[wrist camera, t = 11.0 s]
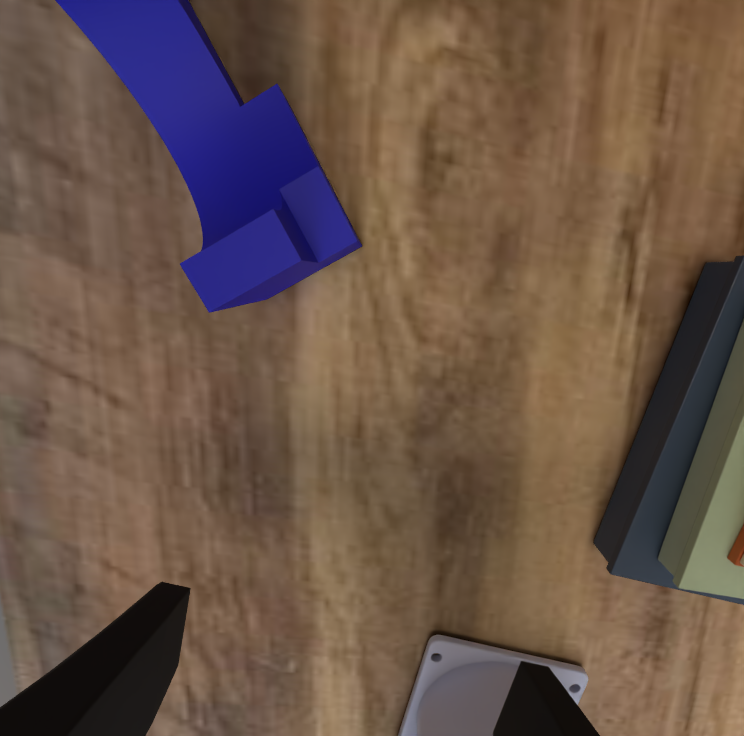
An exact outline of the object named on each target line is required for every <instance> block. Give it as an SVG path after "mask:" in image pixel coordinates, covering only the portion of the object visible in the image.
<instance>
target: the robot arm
mask: <svg viewBox="0 0 744 736" xmlns="http://www.w3.org/2000/svg"><path fill="white" fill-rule="evenodd" d="M190 589H191V588H188V587H183V586H179V585H174V584H169V583H165V582H161V583H159V584H157V585H156V586H155V587H154V588H152V589H151V590H150V591H149V592H148V593H147V594H145V595H144V596H143V597H142V598H141V599H140V600H138V601H137V602H136V603H135V604H134V605H132V606H131V607H130V608H129V609H128V610H127V611H125V612H124V613H123V614H122V615H121V616H119V617H118V618H117V619H116V620H114V621H113V622H112V623H111V624H110V625H108V626H107V627H106V628H105V629H103V630H102V631H101V632H100V633H99V634H97V635H96V636H95V637H93V638H92V639H91V640H90V641H88V642H87V643H86V644H84V645H83V646H82V647H81V648H79V649H78V650H77V651H76V652H74V653H73V654H72V655H70V656H69V657H68V658H67V659H65V660H64V661H63V662H61V663H60V664H59V665H58V666H56V667H55V668H54V669H52V670H51V671H50V672H48V673H47V674H46V675H44V676H43V677H41V678H40V679H39V680H37V681H36V682H35V683H33V684H32V685H30V686H29V687H28V688H26V689H25V690H24V691H22V692H21V693H19V694H18V695H17V696H15V697H14V698H13V699H11V700H10V701H8V702H7V703H6V704H4V705H3V706H1V707H0V736H145V735H146V734H147V732H148V730H149V728H150V726H151V724H152V722H153V720H154V718H155V716H156V714H157V711H158V709H159V707H160V705H161V703H162V701H163V698H164V696H165V694H166V692H167V689H168V687H169V685H170V683H171V680H172V678H173V676H174V674H175V671H176V669H177V667H178V663H179V657H180V651H181V645H182V638H183V632H184V626H185V620H186V613H187V607H188V601H189V595H190ZM434 653H439V654H438V655H433V654H434ZM587 682H588V676H587V674H586V672H585V670H584V669H583V668H582V667H580V666H577V665H572V664H568V663H564V662H559V661H555V660H550V659H546V658H541V657H537V656H532V655H528V654H524V653H519V652H515V651H510V650H506V649H501V648H497V647H492V646H488V645H483V644H479V643H475V642H470V641H466V640H461V639H457V638H452V637H448V636H443V635H434V636H432V637H431V638H430V639H429V641H428V644H427V647H426V650H425V653H424V656H423V659H422V662H421V665H420V669H419V672H418V675H417V678H416V681H415V684H414V687H413V690H412V693H411V697H410V700H409V703H408V706H407V709H406V712H405V715H404V718H403V721H402V725H401V728H400V731H399V734H398V736H600V735H599V734H598V732H597V731H596V730H595V728H594V727H593V726H592V724H591V723H590V722H589V720H588V719H587V718H586V716H585V715H584V713H583V712H582V711H581V709H580V708H579V707H578V703H579V701H580V699H581V696H582V694H583V692H584V689H585V687H586V685H587ZM573 684H574V685H573Z"/></svg>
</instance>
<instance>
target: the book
mask: <svg viewBox="0 0 744 736" xmlns="http://www.w3.org/2000/svg"><path fill="white" fill-rule="evenodd" d="M727 559H728V560H730V561H731V562H732V563H733V564H734V565H737V566H741V567H744V524H743V526H742V528H741V530H740V532H739V535H738V537H737V539H736V541H735V543H734V545H733V547H732V549H731V551H730V553H729V555H728V557H727Z"/></svg>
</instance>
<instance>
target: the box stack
mask: <svg viewBox="0 0 744 736" xmlns="http://www.w3.org/2000/svg"><path fill="white" fill-rule="evenodd" d="M743 524H744V256H736V257H735V260H734V261H733V262H707V263H706V264H705V266H704V269H703V271H702V274H701V276H700V279H699V281H698V284H697V286H696V289H695V291H694V294H693V296H692V299H691V301H690V304H689V306H688V309H687V311H686V313H685V316H684V318H683V321H682V323H681V326H680V328H679V331H678V333H677V336H676V338H675V341H674V343H673V346H672V348H671V351H670V353H669V356H668V358H667V361H666V363H665V366H664V368H663V371H662V373H661V376H660V378H659V381H658V383H657V386H656V388H655V391H654V393H653V396H652V398H651V401H650V403H649V406H648V408H647V410H646V413H645V415H644V418H643V420H642V423H641V425H640V428H639V430H638V433H637V435H636V438H635V440H634V443H633V445H632V448H631V450H630V453H629V455H628V458H627V460H626V463H625V465H624V468H623V470H622V473H621V475H620V478H619V480H618V483H617V485H616V488H615V490H614V493H613V495H612V498H611V500H610V502H609V505H608V507H607V510H606V512H605V515H604V517H603V520H602V522H601V525H600V527H599V530H598V532H597V535H596V537H595V540H594V544H595V546H596V547H597V548H598V550H599V551H600V552H601V554H602V555H603V556H604V557H605V559H606V560H607V561H608V565H607V567H606V568H607V570H608V571H609V573H610V574H612V575H616V576H621V577H625V578H629V579H634V580H638V581H642V582H647V583H651V584H655V585H660V586H664V587H669V588H673V589H677V590H682V591H686V592H690V593H695V594H699V595H703V596H708V597H712V598H716V599H721V600H725V601H729V602H734V603H738V604H743V605H744V567H741V566H737V565H734V564H733V563H732V562H731V561H730V560H728V559H727V557H728V555H729V553H730V551H731V549H732V547H733V545H734V543H735V541H736V539H737V537H738V535H739V532H740V530H741V528H742V526H743Z"/></svg>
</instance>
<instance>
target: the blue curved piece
mask: <svg viewBox="0 0 744 736" xmlns="http://www.w3.org/2000/svg"><path fill="white" fill-rule="evenodd" d="M55 1H56V2H57V3H58V4H59V5H60V6H61V7H62V8H63V9H64V11H65V12H66V13H67V14H68V15H69V16H70V17H71V18H72V20H73V21H74V22H75V23H76V24H77V25H78V27H79V28H80V29H81V30H82V31H83V32H84V34H85V35H86V36H87V37H88V38H89V39H90V41H91V42H92V43H93V44H94V46H95V47H96V48H97V49H98V50H99V52H100V53H101V54H102V55H103V57H104V58H105V59H106V60H107V62H108V63H109V64H110V66H111V67H112V68H113V69H114V71H115V72H116V73H117V75H118V76H119V77H120V79H121V80H122V81H123V83H124V84H125V85H126V87H127V88H128V89H129V91H130V92H131V94H132V95H133V96H134V98H135V99H136V100H137V102H138V103H139V105H140V106H141V108H142V109H143V111H144V112H145V114H146V115H147V116H148V118H149V119H150V121H151V123H152V124H153V126H154V127H155V129H156V130H157V132H158V133H159V135H160V137H161V138H162V140H163V141H164V143H165V145H166V146H167V148H168V150H169V152H170V153H171V155H172V157H173V158H174V160H175V162H176V164H177V166H178V168H179V170H180V171H181V173H182V175H183V177H184V179H185V182H186V184H187V186H188V188H189V190H190V192H191V195H192V197H193V200H194V202H195V205H196V208H197V211H198V214H199V218H200V221H201V226H202V232H203V247H202V250H201V252H199V253H197V254H196V255H194V256H192V257H191V258H189V259H187V260H185V261H184V262H182V263H180V265H181V267H182V269H183V270H184V272H185V274H186V275H187V277H188V279H189V280H190V282H191V283H192V285H193V287H194V288H195V290H196V292H197V293H198V295H199V297H200V298H201V300H202V302H203V303H204V305H205V307H206V308H207V310H208V311H209V313H210V312H214V311H218V310H223V309H227V308H231V307H236V306H240V305H244V304H249V303H253V302H257V301H261V300H266V299H268V298H270V297H272V296H274V295H276V294H277V293H279V292H281V291H283V290H285V289H286V288H288V287H290V286H292V285H294V284H295V283H297V282H299V281H301V280H303V279H304V278H306V277H308V276H310V275H312V274H313V273H315V272H317V271H319V270H321V269H322V268H324V267H326V266H328V265H330V264H331V263H333V262H335V261H337V260H339V259H340V258H342V257H344V256H346V255H348V254H349V253H351V252H353V251H355V250H356V249H358V248H360V247H362V244H361V243H360V241H359V239H358V237H357V235H356V233H355V231H354V229H353V227H352V225H351V223H350V221H349V219H348V217H347V215H346V214H345V212H344V210H343V208H342V206H341V204H340V202H339V200H338V198H337V196H336V194H335V192H334V190H333V188H332V187H331V185H330V183H329V181H328V179H327V177H326V175H325V173H324V171H323V169H322V167H321V165H320V163H319V161H318V159H317V158H316V156H315V154H314V152H313V150H312V148H311V146H310V144H309V142H308V140H307V138H306V136H305V134H304V132H303V130H302V129H301V127H300V125H299V123H298V121H297V119H296V117H295V115H294V113H293V111H292V109H291V107H290V105H289V103H288V101H287V100H286V98H285V96H284V94H283V93H282V91H281V89H280V88H279V86H278V84H276V85H274V86H272V87H271V88H269V89H268V90H266V91H265V92H263V93H261V94H260V95H258V96H257V97H255V98H253V99H252V100H250V101H249V102H247V103H246V104H244V103H243V101H242V99H241V98H240V96H239V94H238V92H237V90H236V88H235V86H234V84H233V83H232V81H231V79H230V77H229V75H228V73H227V71H226V70H225V68H224V66H223V64H222V62H221V60H220V58H219V57H218V55H217V53H216V51H215V49H214V47H213V45H212V44H211V42H210V40H209V38H208V36H207V34H206V32H205V30H204V29H203V27H202V25H201V23H200V21H199V19H198V17H197V16H196V14H195V12H194V10H193V8H192V6H191V4H190V3H189V1H188V0H55Z"/></svg>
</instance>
